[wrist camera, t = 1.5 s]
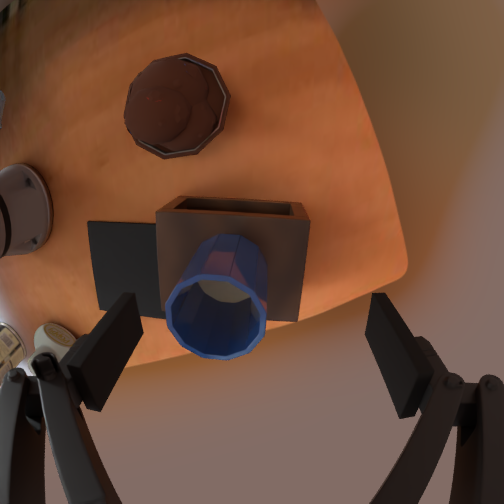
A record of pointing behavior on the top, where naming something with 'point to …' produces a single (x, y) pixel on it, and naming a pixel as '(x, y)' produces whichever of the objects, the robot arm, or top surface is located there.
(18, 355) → the coffee can
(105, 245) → the mat
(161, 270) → the shelf
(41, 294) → the top surface
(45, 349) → the air freshener
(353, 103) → the top surface
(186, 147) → the ice cream bowl
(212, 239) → the cup
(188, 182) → the top surface
